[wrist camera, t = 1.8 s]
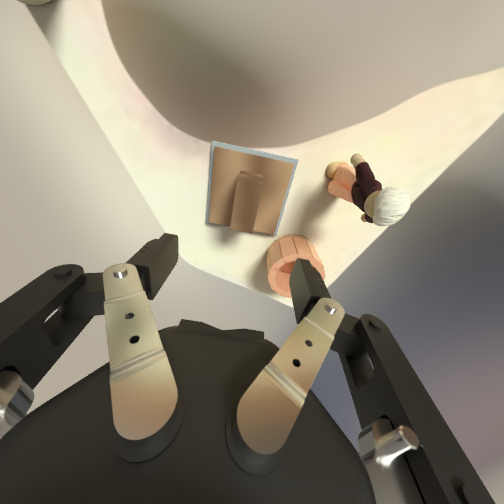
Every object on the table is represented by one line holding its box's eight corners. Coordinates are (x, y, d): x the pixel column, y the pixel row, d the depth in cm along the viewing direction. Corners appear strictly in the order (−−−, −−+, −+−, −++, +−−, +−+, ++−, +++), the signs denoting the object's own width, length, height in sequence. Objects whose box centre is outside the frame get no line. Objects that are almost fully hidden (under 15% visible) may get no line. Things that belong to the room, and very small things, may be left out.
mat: (207, 221, 30) (206, 222, 29) (213, 140, 24) (212, 140, 23) (275, 234, 30) (276, 235, 30) (297, 159, 25) (298, 160, 24)
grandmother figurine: (314, 165, 25) (356, 188, 14) (342, 146, 24) (411, 155, 13) (337, 211, 28) (387, 259, 17) (363, 196, 27) (434, 237, 16)
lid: (209, 220, 29) (199, 237, 24) (215, 146, 24) (204, 149, 19) (273, 232, 30) (276, 252, 25) (293, 163, 24) (302, 170, 19)
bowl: (262, 270, 34) (263, 293, 29) (273, 230, 30) (276, 249, 25) (305, 277, 35) (312, 301, 30) (321, 240, 31) (333, 260, 26)
